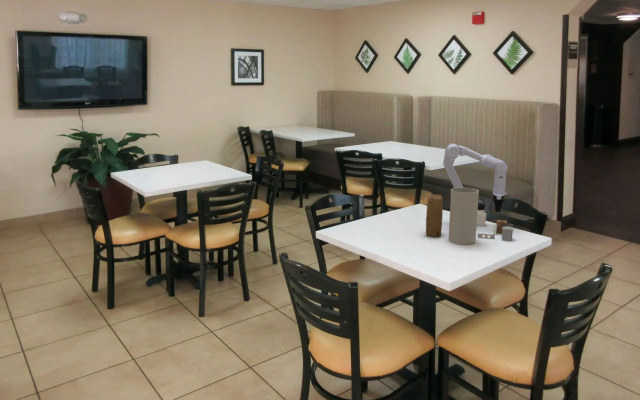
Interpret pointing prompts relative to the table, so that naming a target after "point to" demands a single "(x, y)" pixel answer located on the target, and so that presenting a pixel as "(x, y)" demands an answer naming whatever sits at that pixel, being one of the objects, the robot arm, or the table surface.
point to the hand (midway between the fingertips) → (497, 210)
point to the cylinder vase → (463, 215)
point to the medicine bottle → (481, 214)
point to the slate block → (507, 233)
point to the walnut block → (500, 226)
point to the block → (434, 215)
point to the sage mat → (495, 233)
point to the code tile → (486, 236)
